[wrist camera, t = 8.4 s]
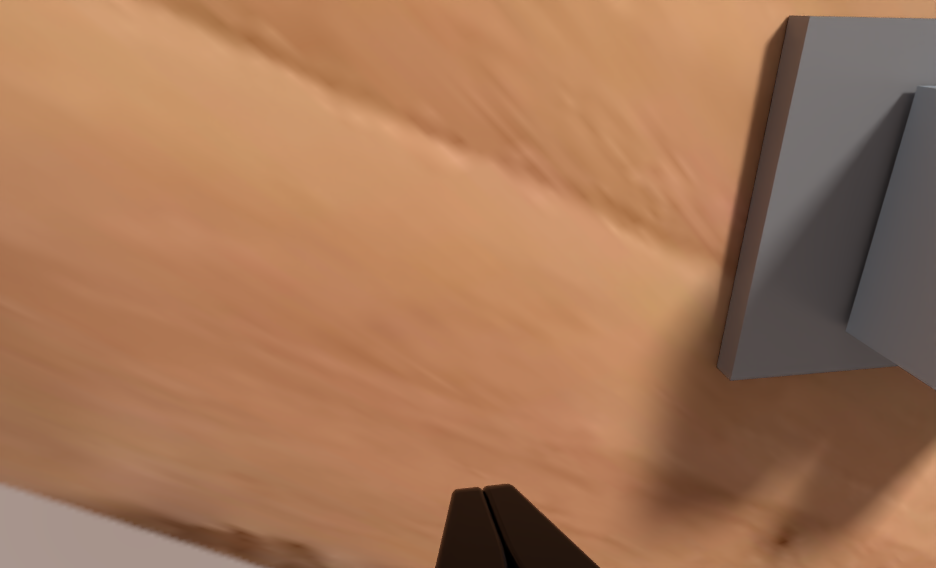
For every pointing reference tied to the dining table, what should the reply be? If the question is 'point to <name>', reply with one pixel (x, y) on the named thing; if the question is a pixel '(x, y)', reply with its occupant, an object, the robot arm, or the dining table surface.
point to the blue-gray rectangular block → (904, 254)
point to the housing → (822, 192)
